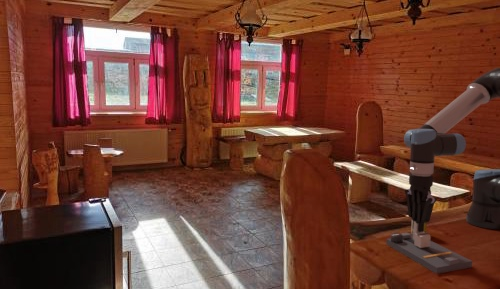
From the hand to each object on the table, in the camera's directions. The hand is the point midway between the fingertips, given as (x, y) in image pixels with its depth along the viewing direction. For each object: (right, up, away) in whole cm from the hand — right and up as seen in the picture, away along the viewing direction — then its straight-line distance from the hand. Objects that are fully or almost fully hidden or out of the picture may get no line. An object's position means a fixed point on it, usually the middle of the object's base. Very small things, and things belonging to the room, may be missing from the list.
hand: (417, 239), depth 133 cm
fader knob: (+1, -2, -2) cm, 3 cm away
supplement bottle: (+7, -2, +15) cm, 17 cm away
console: (+1, -4, -3) cm, 6 cm away
